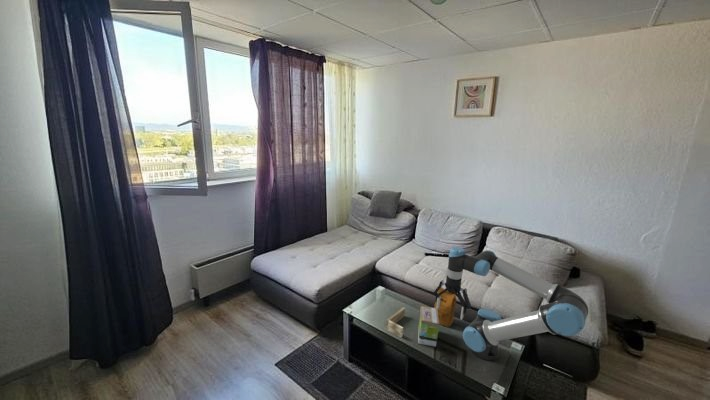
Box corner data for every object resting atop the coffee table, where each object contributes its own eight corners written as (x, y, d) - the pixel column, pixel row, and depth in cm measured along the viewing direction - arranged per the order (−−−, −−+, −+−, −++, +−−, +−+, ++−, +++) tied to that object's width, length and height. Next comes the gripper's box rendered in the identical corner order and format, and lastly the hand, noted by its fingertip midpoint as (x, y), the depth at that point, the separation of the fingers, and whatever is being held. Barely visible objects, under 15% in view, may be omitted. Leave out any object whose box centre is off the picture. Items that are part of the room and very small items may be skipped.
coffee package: (437, 313, 189) (441, 282, 184) (455, 322, 180) (460, 290, 175) (429, 319, 182) (433, 287, 177) (447, 329, 173) (452, 296, 169)
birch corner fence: (417, 322, 178) (418, 314, 176) (401, 337, 163) (401, 328, 162) (402, 315, 184) (402, 307, 183) (385, 329, 170) (386, 320, 169)
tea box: (436, 347, 157) (439, 323, 154) (418, 343, 159) (420, 320, 156) (434, 330, 172) (437, 308, 169) (417, 327, 174) (420, 305, 171)
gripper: (481, 282, 145) (475, 319, 149) (435, 266, 161) (431, 301, 165) (476, 287, 139) (470, 326, 144) (429, 271, 155) (425, 306, 159)
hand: (449, 313), depth 154 cm, fingers open, 13 cm apart
